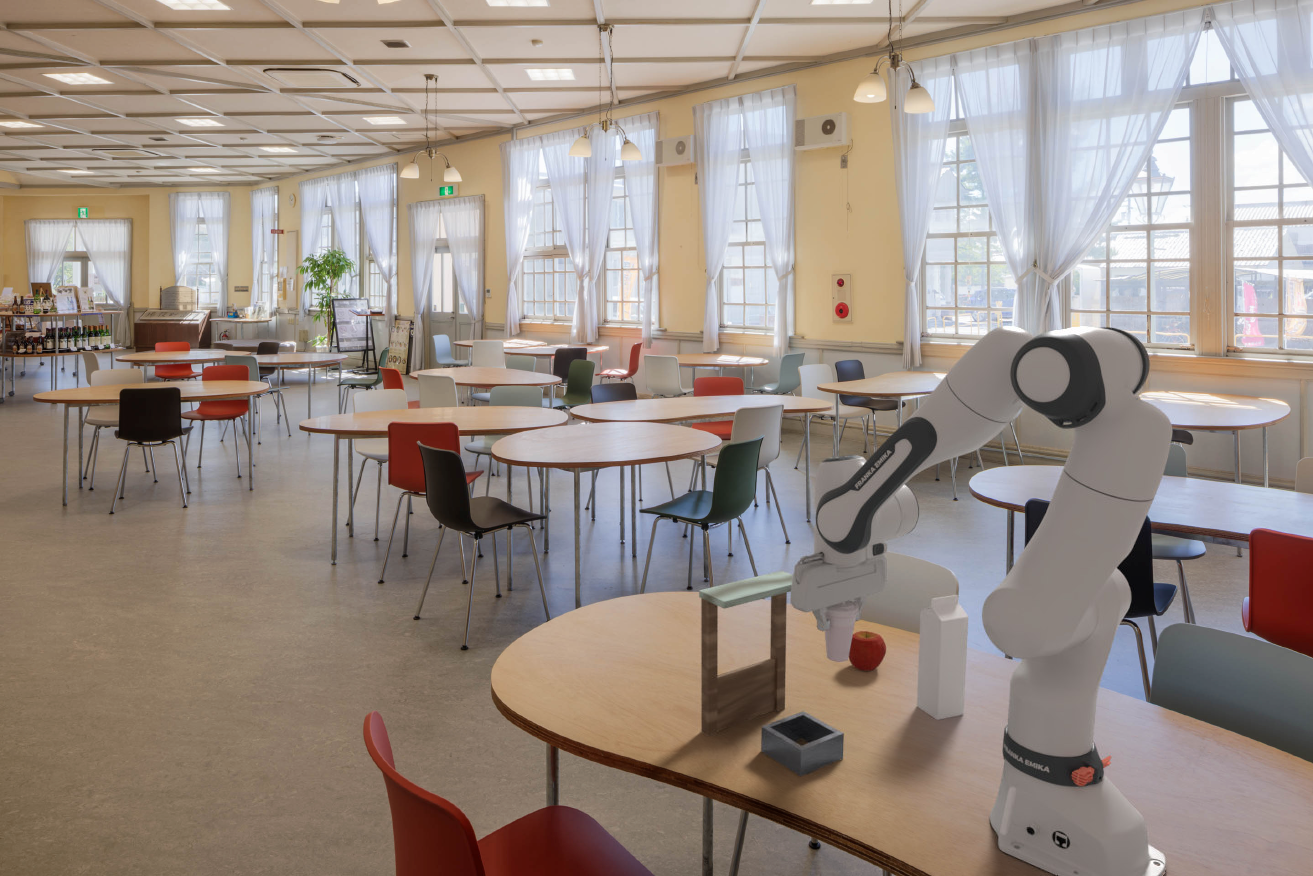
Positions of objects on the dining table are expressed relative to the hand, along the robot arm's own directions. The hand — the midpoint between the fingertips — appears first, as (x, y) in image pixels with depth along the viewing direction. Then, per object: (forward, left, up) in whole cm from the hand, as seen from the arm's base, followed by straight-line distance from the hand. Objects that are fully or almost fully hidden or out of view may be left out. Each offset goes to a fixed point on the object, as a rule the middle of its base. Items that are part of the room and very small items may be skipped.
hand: (839, 625), depth 151 cm
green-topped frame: (+9, +11, -20) cm, 24 cm away
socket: (-3, +11, -20) cm, 23 cm away
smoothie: (0, 0, -6) cm, 6 cm away
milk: (-6, -21, -20) cm, 29 cm away
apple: (+15, -24, -20) cm, 35 cm away
